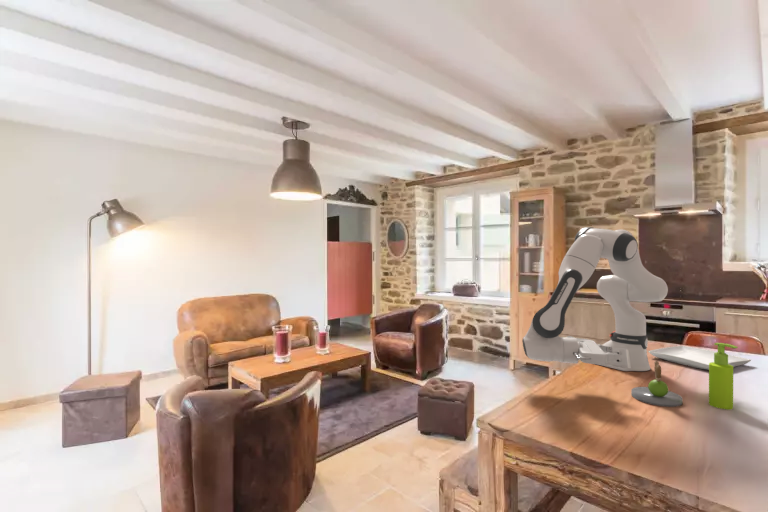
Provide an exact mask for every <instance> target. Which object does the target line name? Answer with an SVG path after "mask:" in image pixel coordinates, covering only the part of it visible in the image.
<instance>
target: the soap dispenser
mask: <svg viewBox="0 0 768 512" xmlns="http://www.w3.org/2000/svg"><path fill="white" fill-rule="evenodd" d="M714 346H717V351H715V352H716V353H714V362H711V363H709V370H708V405H709V406H711V407H713V408H717V409H720V410H727V411H728V410H733V409H734V367H733V366H732V365H729V364H728V355H729V354H728V353H727V352H726V351H725V349H726V348H725V347H727V348H730V349H739V346H736V345H733V344H730V343H726V342H725V343H724V342H714Z"/></svg>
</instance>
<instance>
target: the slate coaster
mask: <svg viewBox="0 0 768 512" xmlns="http://www.w3.org/2000/svg"><path fill="white" fill-rule="evenodd" d="M630 395H631V396H632V398H634V399H635V400H637V401H639V402H642V403H646V404H649V405H653V406H658V407H668V408H674V407H675V408H676V407H681V406H682V405H683V397H682V396H681V395H680V394H678V393H676V392H673V391H671V390H668V393H667V394H666V395H665V396H663V397H657V396H655V395H653V394H652V393H651V392H650V391H649V389H648V386H636V387H633V388H631V393H630Z"/></svg>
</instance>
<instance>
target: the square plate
mask: <svg viewBox="0 0 768 512" xmlns="http://www.w3.org/2000/svg"><path fill="white" fill-rule="evenodd" d="M716 352H717V351H715V350H710V349H703V348H697V347H693V346H692V347H691V346H686V345H677V346H669V347H668V346H667V347H662V348H661V347H660V348H657V349H651V350H647V353H649V354H650V355H652V356H653V357H656V358H657V357H658V358H659V359H661V360H664V361H667V362H672V363H675V364H678V365H679V364H680V365H683V366H687V365H688V367H691V368H695V369H696V368H697V369H701V370H704V371H705V370H706V371H709V363H711V362H714V353H716ZM751 361H752V359H750V358H745V357H741V356H736V355H731V354H728V364H729V365H732V366H733V368H734V367H739V366H744V365H747V364H749V363H750V362H751Z"/></svg>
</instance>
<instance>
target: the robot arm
mask: <svg viewBox="0 0 768 512" xmlns="http://www.w3.org/2000/svg"><path fill="white" fill-rule="evenodd" d="M573 241H574V242H573V243H572V244H571V246H570V247H569V249H568V250H567V252H566V253H565V255H564V256H563V259H562V261H561V264H560V266H559V269H558V281H557V282H558V283H557V285H556V286H555V288H554V290H553V293H552V294H551V296H550V299H549V300H548V302H547V303H546V304H545V305H544V306H543V307H542V308H540V309H538V310H537V311H536V313H534V315H533V317H532V319H531V323H530V325H529V328H528V330H527V331H526V333H525V335H524V336H523V338H522V346H523V352H524V354H525V356H526V357H527V358H528V359H530V360H532V361H533V360H534V361H540V362H560V363H566V364H567V363H568V364H578V363H579V361H580V362H582V363H584V364H591V365H598V366H603V367H607V368H611V369H614V370H618V371H622V372H646V371H647V372H648V371H650V370H651V369H652V368H651V366H650V362H649V358H648V350H647V349H648V343H649V342H648V334H647V319H646V315H645V313H643V312H641V311H640V310H638V309H636V308H635V307H633V306H632V305H631V303H630V302H641V303H656V302H662V301H663V300H664V299H665V298H666V297H667V295H668V292H669V287H668V285H667V283H666V280H664V279H663V278H661V277H659V276H657V275H654V274H653V273H652V272H650V271H649V270H648V269H647V268H646V267H645V266H644V265H643V263H642V259H641V255H640V252H639V247H638V246H639V245H638V240H637V239H636V238H635V236H634V235H633V234H632V233H631V232H630V231H628V230H626V229H621V228H620V229H616V230H613V229H608V228H607V229H606V228H598V227H597V228H596V227H595V228H594V227H592V226H589V227H586V226H585V227H582V228H581V229H580V230H579V231H577V233H575V237H574V240H573ZM600 259H607V261H608V265H609V269H610V271H611V273H612V274H608V275H602V276H601V277H600V278H599V279H598V281H597V282H596V291H597V293H598V295H599V296H600V297H601V298H603V299H604V300H605V301H606V302H607V303H608V304H609V306H610V307H611V309H612V311H613V315H614V320H615V321H614V322H615V324H614V325H615V328H614V329H615V330H613V331H612V332H611V333H609V338H610V339H609V340H608V341H606V342H604V343H602V344H599V343H596V341H595V340H592V339H588V338H581V337H580V338H579V337H574V336H571V335H568V336H566V337H564V336H560V335H561V334H562V332H563V331H564V329H565V325H566V324H565V323H566V319H565V318H566V313H567V310H568V308H569V306H570V304H571V303H572V301H573V299H574V297H575V295H576V293H577V292H578V291H579V290H580V289H581V288H582V287H583V286H584V285H585V284H586V283H587V282H588V281H589V279H590V278H591V277H592V275H593V273H594V272H595V270H596V268H597V266H598V264H599V262H600Z"/></svg>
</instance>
